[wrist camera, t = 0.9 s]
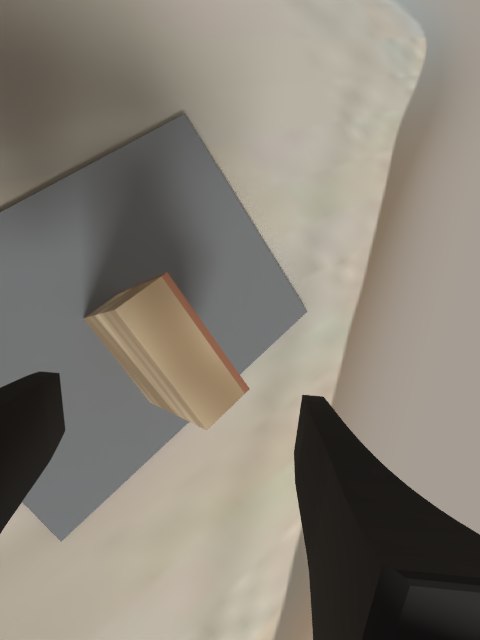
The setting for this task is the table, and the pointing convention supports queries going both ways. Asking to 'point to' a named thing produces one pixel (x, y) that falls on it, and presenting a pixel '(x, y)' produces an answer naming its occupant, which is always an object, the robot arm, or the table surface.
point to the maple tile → (168, 351)
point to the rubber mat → (116, 276)
